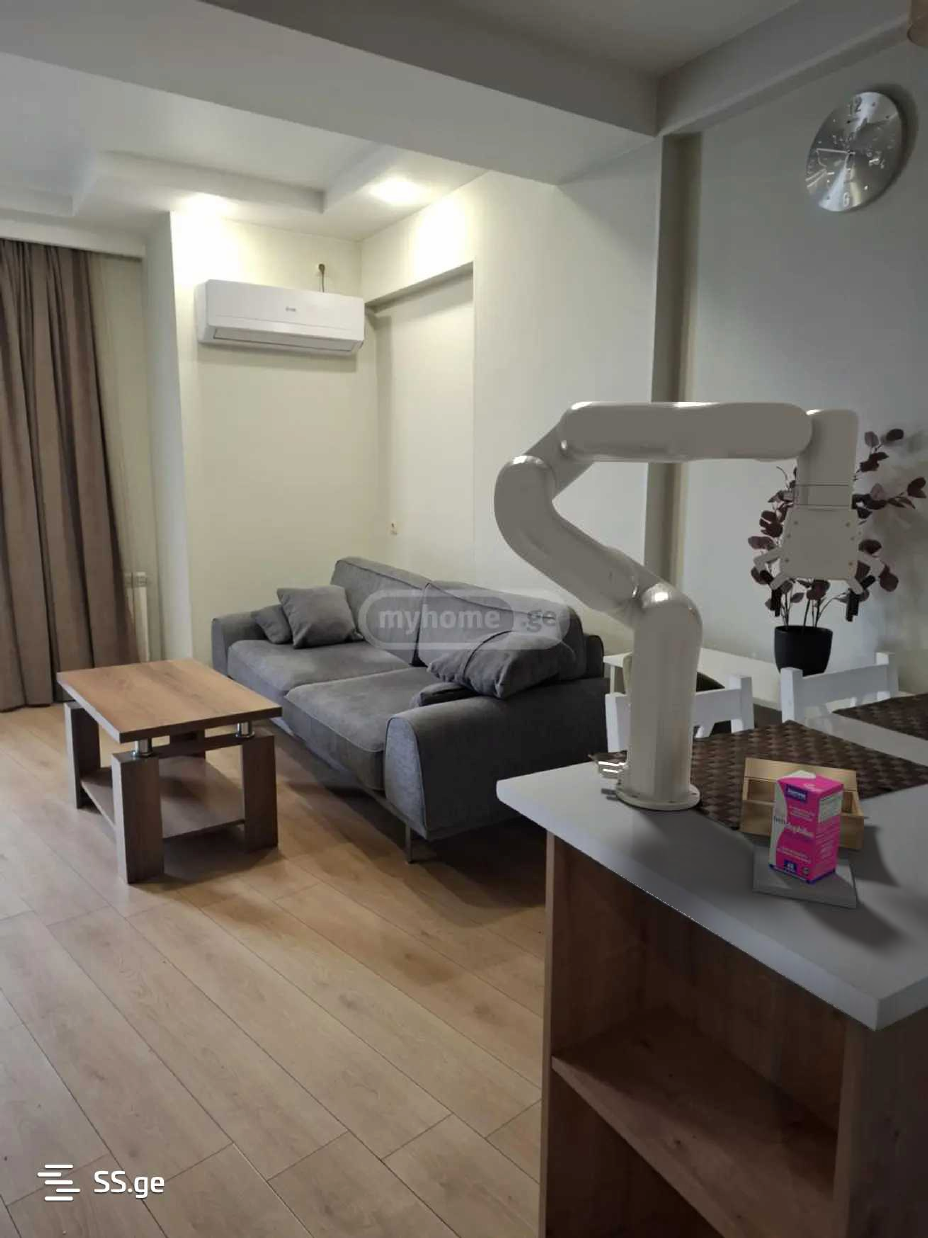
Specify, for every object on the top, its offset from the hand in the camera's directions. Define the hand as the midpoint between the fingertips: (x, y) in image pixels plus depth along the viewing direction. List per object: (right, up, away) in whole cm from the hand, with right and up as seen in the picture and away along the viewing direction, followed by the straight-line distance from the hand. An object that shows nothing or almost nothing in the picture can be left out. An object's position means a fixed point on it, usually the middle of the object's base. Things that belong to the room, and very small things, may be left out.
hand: (812, 618), depth 120 cm
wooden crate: (-4, -29, -4) cm, 30 cm away
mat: (-9, -32, -20) cm, 38 cm away
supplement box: (-9, -31, -19) cm, 38 cm away
